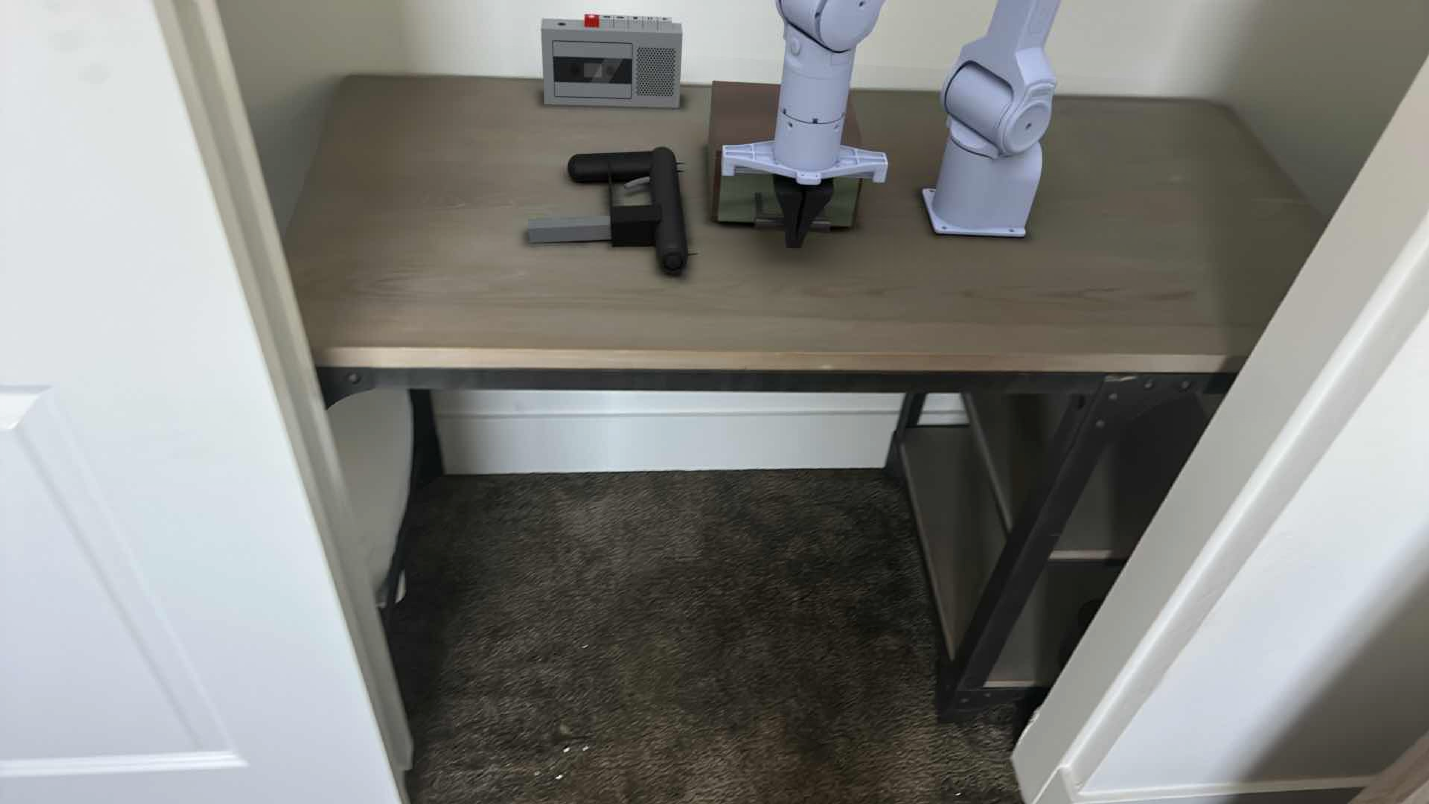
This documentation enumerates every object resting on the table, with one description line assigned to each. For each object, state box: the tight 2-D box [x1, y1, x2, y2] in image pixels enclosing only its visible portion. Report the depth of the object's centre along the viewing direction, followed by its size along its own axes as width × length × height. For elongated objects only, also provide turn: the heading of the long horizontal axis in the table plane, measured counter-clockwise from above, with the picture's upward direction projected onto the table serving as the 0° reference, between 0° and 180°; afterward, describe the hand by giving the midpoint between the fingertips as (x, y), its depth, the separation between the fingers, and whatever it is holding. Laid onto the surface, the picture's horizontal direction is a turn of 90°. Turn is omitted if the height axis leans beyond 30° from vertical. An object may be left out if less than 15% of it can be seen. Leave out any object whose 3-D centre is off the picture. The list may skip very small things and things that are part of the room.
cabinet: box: [707, 80, 866, 229], centre depth 107 cm, size 15×15×8 cm
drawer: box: [718, 169, 860, 233], centre depth 104 cm, size 19×13×6 cm
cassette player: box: [540, 13, 684, 109], centre depth 118 cm, size 16×3×10 cm, turn 94°
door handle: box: [527, 146, 699, 275], centre depth 103 cm, size 3×20×16 cm
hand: (792, 242), depth 97 cm, fingers closed, pressing on drawer
